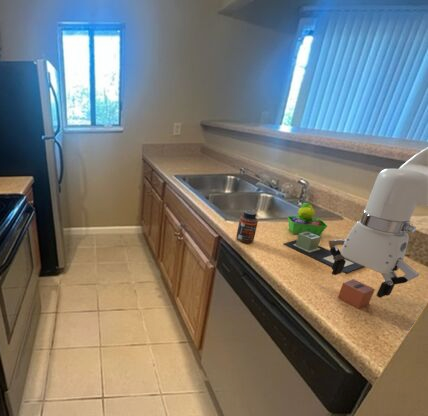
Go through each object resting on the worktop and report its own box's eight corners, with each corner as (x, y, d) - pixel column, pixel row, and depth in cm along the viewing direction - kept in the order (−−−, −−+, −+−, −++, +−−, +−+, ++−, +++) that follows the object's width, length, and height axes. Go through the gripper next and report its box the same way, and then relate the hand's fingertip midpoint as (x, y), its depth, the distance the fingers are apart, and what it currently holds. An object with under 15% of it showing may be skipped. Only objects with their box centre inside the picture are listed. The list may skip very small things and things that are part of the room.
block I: (368, 303, 70) (375, 288, 69) (358, 308, 69) (364, 293, 67) (348, 293, 74) (353, 278, 72) (337, 297, 73) (342, 282, 71)
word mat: (365, 266, 86) (366, 265, 86) (345, 273, 82) (346, 272, 82) (301, 239, 103) (301, 238, 103) (283, 244, 100) (283, 243, 100)
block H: (317, 248, 96) (321, 236, 94) (308, 250, 94) (312, 238, 93) (303, 242, 100) (307, 231, 98) (295, 245, 98) (298, 233, 97)
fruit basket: (289, 234, 107) (297, 207, 103) (283, 225, 115) (290, 200, 111) (324, 238, 104) (333, 211, 100) (315, 229, 111) (323, 203, 107)
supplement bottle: (240, 243, 100) (246, 215, 96) (233, 236, 106) (238, 209, 102) (256, 243, 101) (262, 215, 96) (248, 236, 106) (253, 209, 102)
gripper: (445, 235, 57) (411, 301, 63) (349, 208, 72) (329, 263, 78) (427, 242, 55) (393, 310, 61) (331, 211, 70) (312, 269, 76)
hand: (357, 284), depth 70 cm, fingers open, 9 cm apart
